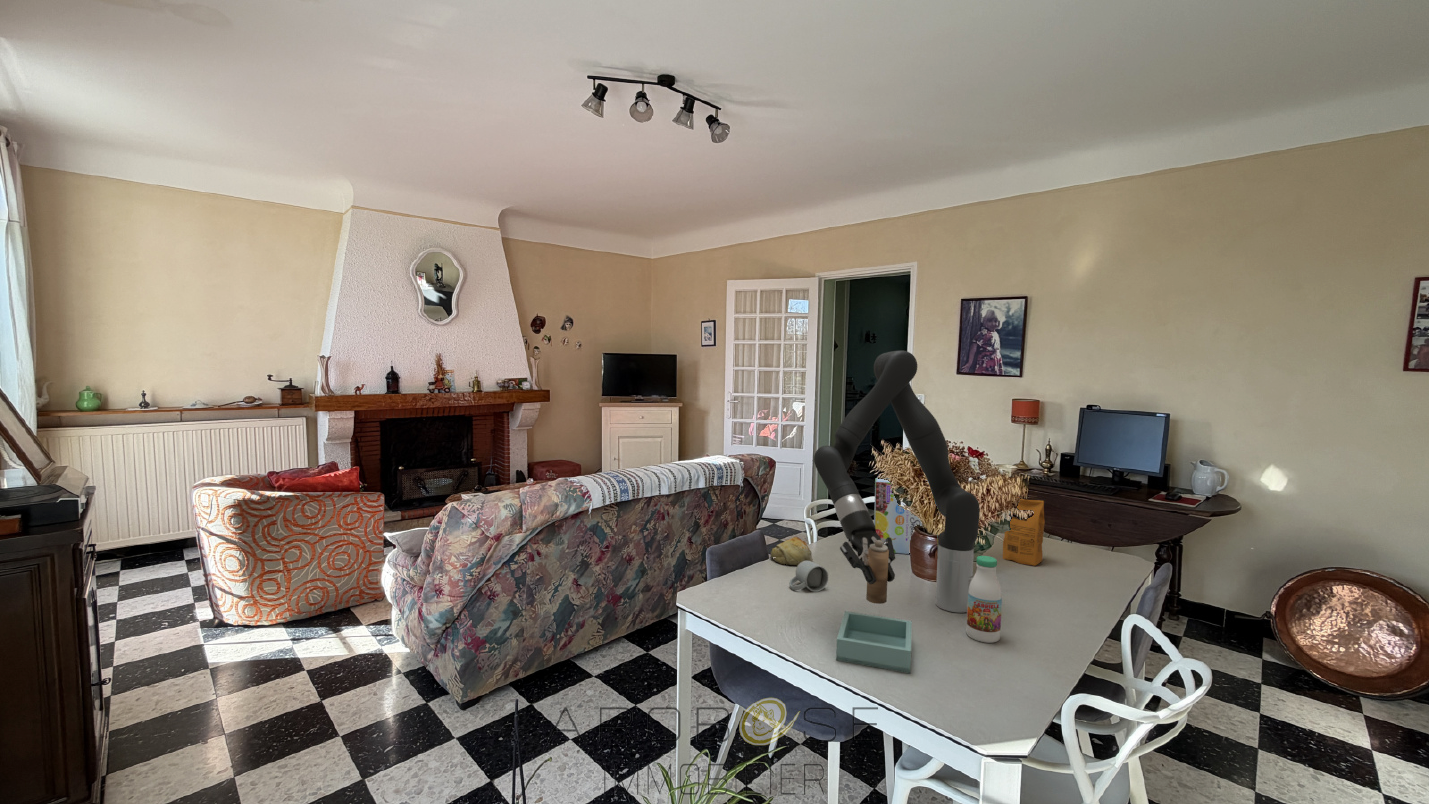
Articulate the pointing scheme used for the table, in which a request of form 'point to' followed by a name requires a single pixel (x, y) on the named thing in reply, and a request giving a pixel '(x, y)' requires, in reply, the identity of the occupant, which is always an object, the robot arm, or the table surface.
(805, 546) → the pastry
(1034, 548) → the coffee package
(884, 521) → the snack box
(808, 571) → the ceramic mug
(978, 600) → the milk bottle
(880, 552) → the pepper mill
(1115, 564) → the table surface
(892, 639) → the bin
